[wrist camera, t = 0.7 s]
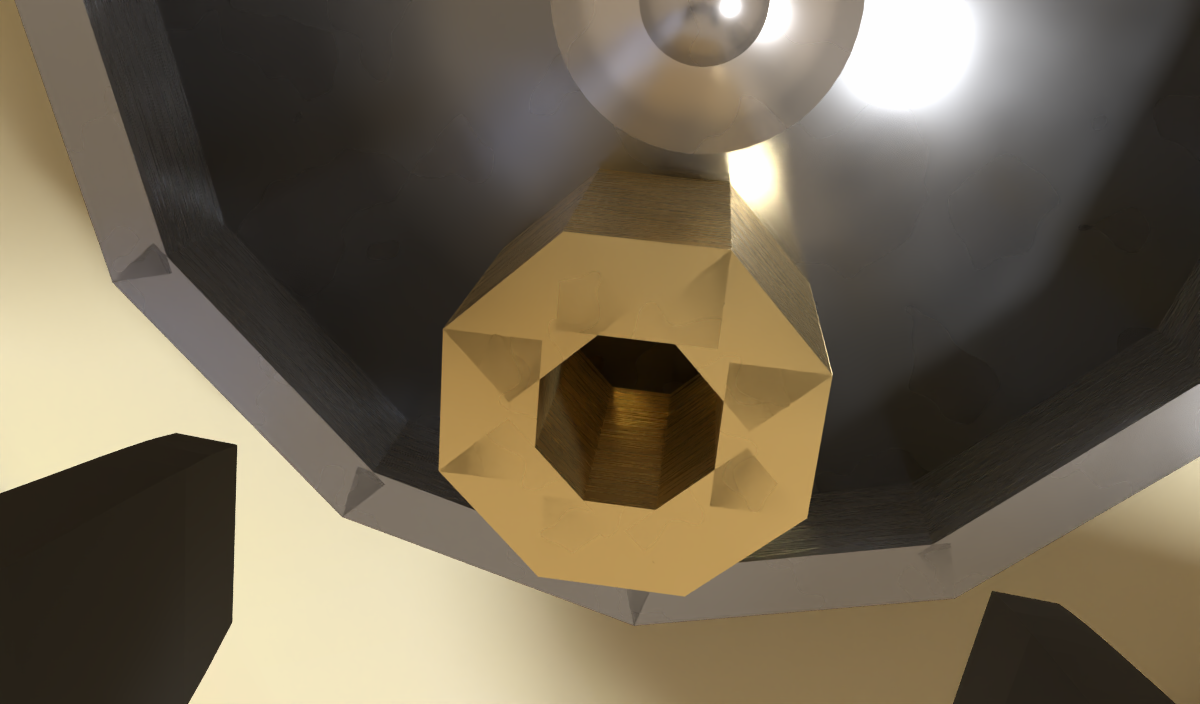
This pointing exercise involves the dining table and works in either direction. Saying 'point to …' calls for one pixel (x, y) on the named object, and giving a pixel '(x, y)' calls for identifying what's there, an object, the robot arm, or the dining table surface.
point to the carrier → (689, 150)
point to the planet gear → (634, 417)
